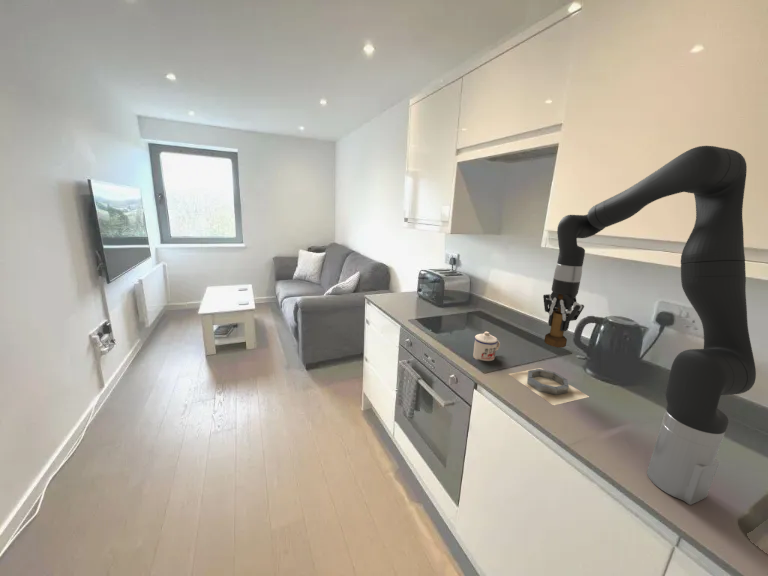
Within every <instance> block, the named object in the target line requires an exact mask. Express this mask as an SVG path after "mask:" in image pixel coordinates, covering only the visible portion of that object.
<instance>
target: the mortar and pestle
mask: <svg viewBox="0 0 768 576" xmlns="http://www.w3.org/2000/svg"><path fill="white" fill-rule="evenodd" d="M558 298H559V300H562V299H563V295H562V294H559V295H558ZM562 320H563V317H562V313H561V309H560V308H559V307H558V311H554V313H553V319H552V325H551V326H550V330H549V332H548V333H546V334H545V336H544V339H543V340H544V343H545V344H546V345H548V346H550V347H553V348H565V347H566V346H567V341H568V339H567V338H566V336H565V335H564V333H565V331H561V330H560V328H561V323H562Z"/></svg>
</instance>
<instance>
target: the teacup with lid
mask: <svg viewBox="0 0 768 576" xmlns="http://www.w3.org/2000/svg"><path fill="white" fill-rule="evenodd" d="M500 346H501V342H500V341H499V340H498V338H497V337H496V336H493V335H492V334H490V332H489V331H484V333H478V334H476V335H475V336H474V345H473V355H472V358H474V360H475V361H476V360H479V361H485V362H491V361H494V360H495V359H496V353H497V351H498V350H499V349H500V348H501V347H500Z"/></svg>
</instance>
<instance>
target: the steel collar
mask: <svg viewBox="0 0 768 576" xmlns="http://www.w3.org/2000/svg"><path fill="white" fill-rule="evenodd" d="M534 369H535V370H532V369H529V370H530V371H528V376H527V384H529V385H530V386H532V387H533V388H534V389H536V390H537V391H539V392H543V393H547V394H551V395H555V396H557V395H562V394H566V393H568V388H569V386H568V384H569V382H568V378H565V377H564V376H562V375H560V374H558V373H556V372H555V371H551V370H546V369H544V370H542V369H543V368H542V369H538V368H534ZM535 377H543V378H548V379H552V380H554V381H555V382H557V383H559V384H560V385H562V386H557V387H554V386H549V385H545V384H541V383H540V382H538V381H537V380H535V379H534V378H535Z"/></svg>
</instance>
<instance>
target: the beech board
mask: <svg viewBox="0 0 768 576" xmlns="http://www.w3.org/2000/svg"><path fill="white" fill-rule="evenodd" d="M535 369H536V368H534V369H527V370H522V371H517V372H512V373H508V375H509V376H511V377H512V378H514V380H516V381H517V382H519V383H520V384H522V385H524V386H525V387H527V388H528V389H529V390H530V391H532V392H533V393H535V394H536V395H538V396H539V397H540V398H542V399H543V400H545V401H546V402H547V403H549V404H551V405H552V406H558V405H562V404H566V403H570V402H573V401H578V400H582V399H586V398H587V399H588V398H590V396H589V395H587V394H586V393H584V392H582V391H580V390H579V389H578V388H576V387H574V386H572V385H570V384H569V383H568V386H569V388H568V393H566V394H562V395H557V396H555V395H551V394H547V393H543V392H539V391H537V390H536V389H534V388H533V387H532V386H530V385H529V384H527V376H528V371H530V370H535ZM537 369H542V370H545V369H543V368H541V367H540V368H539V367H538V368H537ZM534 379H535V380H537V381H538V382H540V383H541V384H545V385H549V386H554V387H557V386H562V385H560V384H559V383H557V382H555V381H554V380H552V379H548V378H543V377H535V378H534Z"/></svg>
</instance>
